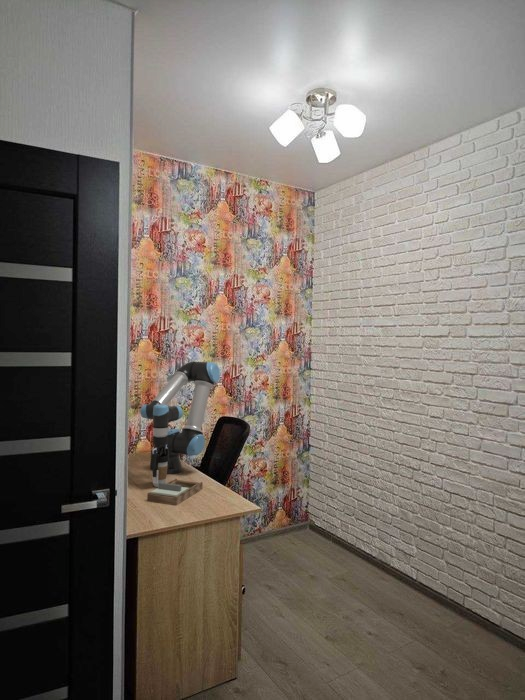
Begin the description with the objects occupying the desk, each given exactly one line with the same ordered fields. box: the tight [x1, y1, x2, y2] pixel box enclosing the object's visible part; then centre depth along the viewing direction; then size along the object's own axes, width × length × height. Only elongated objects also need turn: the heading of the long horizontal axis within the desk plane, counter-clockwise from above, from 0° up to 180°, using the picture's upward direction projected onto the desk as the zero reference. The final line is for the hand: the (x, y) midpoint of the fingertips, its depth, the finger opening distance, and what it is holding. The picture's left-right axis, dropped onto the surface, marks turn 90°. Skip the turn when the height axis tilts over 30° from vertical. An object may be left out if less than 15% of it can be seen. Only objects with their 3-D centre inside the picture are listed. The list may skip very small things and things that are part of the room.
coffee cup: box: [153, 455, 169, 488], centre depth 243 cm, size 8×8×15 cm
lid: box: [150, 482, 189, 497], centre depth 223 cm, size 12×13×3 cm
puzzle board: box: [146, 478, 204, 506], centre depth 229 cm, size 26×15×4 cm, turn 161°
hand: (159, 480), depth 243 cm, fingers closed on coffee cup, 7 cm apart
